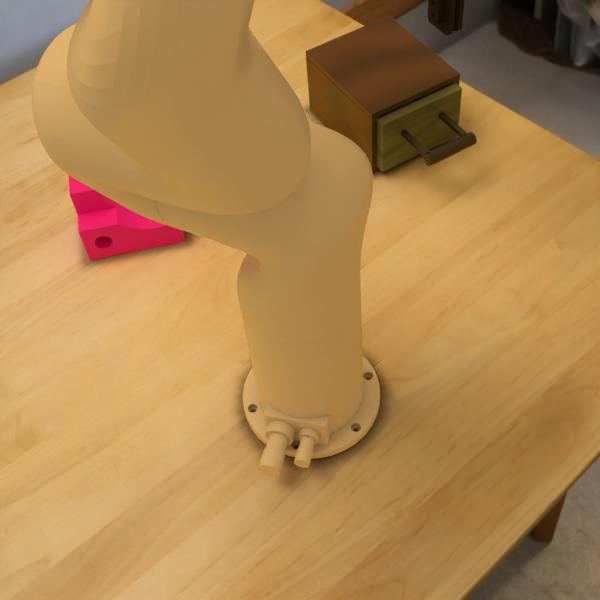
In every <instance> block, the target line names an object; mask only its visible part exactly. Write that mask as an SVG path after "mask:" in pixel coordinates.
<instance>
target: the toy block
mask: <svg viewBox="0 0 600 600" xmlns="http://www.w3.org/2000/svg"><path fill="white" fill-rule="evenodd" d="M68 192H69V198H70V199H71V202H72V205H73V207H74V210H75V212H76V214H77V229H78V231H77V232H78V234H79V236H80V239H81V242H82V244H83V247H84V249H85V251H86V254H87V257H88V259H89V261H93V260H98V259H99V260H100V259H104V258H109V257H114V256H119V255H124V254H129V253H134V252H139V251H144V250H149V249H154V248H159V247H164V246H169V245H174V244H180V243H184V242H186V237H185V231H183V230H180V229H177V228H174V227H171V226H168V225H165V224H162V223H159V222H156V221H154V220H151V219H148V218H146V217H144V216H142V215H140V214H138V213H135V212H133V211H131V210H130V209H128V208H126V207H124V206H122V205H120V204H119V203H117V202H115V201H113V200H111V199H110V198H108V197H106V196H104V195H102V194H101V193H99V192H97V191H95V190H94V189H92V188H90V187H88V186H87V185H85V184H83V183H81V182H80V181H78V180H76V179H75V178H73V177H71V176H70V175H68Z"/></svg>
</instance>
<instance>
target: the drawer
mask: <svg viewBox="0 0 600 600" xmlns="http://www.w3.org/2000/svg"><path fill="white" fill-rule="evenodd" d="M462 93H463V87H461V86H460V84H459V85H458V84H456V83H454V84H452V85H450V86H447V87H445V88H443V89H442V88H440V89H438V90H436V91H434V92H431V93H429V94H427V95H425V96H423V97H421V98H418V99H416V100H414V101H412V102H410V103H408V104H405V105H403V106H401V107H399V108H397V109H395V110H392V111H390V112H388V113H386V114H384V115H382V116H379V117H377V118H378V119H377V167H378V168H379V169H380V170H379V171H380V172H382V173H383V172H386V171H387V170H389V169H392V168H394V167H396V166H398V165H400V164H402V163H404V162H407V161H408V160H410V159H413V158H415V157H417V156H419V155H421V156H422V157H423V162H424V163H425V165H426V166H428V167H431V166H433V165H436V164H438V163H440V162H442V161H443V160H445V159H448V158H450V157H452V156H454V155H456V154H459V153H460V152H462V151H464V150H466V149H468V148H470V147H473V146H474V145H476V144H477V141H478V139H477V136H476V134H475V133H474V132H473V131H469V132H467V131H466V130H464V128H462V127H461V126H460V124H459V123H460V115H461V105H462V104H461V103H462ZM458 136H459V137H458ZM456 137H457V138H456ZM452 139H453V140H452ZM437 146H438V147H437ZM435 147H436V148H435ZM433 148H434V149H433ZM431 149H432V150H431Z"/></svg>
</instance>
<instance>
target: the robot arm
mask: <svg viewBox="0 0 600 600" xmlns="http://www.w3.org/2000/svg"><path fill="white" fill-rule="evenodd" d="M254 5H255V0H89V1H88V3H87V4H86V6H85V7H84V9H83V10H82V12H81V14H80V16H79V17H78V20H77V22H75V23H73V24H71V25H70V26H68V27H67V28H65V29H64V30H63V31H61V32H60V33H59V34H58V35H57V36H55V38H54V39H53V40H52V41H51V42H50V43H49V45H48V46H47V47H46V49H45V50H44V52H43V53H42V55H41V58H40V60H39V62H38V64H37V67H36V70H35V73H34V77H33V82H32V89H31V109H32V117H33V121H34V126H35V130H36V133H37V137H38V138H39V141H40V143H41V145H42V147H43V149H44V150H45V152H46V153H47V155H48V157H49V158H50V159H51V161H52V162H53V163H54V164H55V165H56V166H57V167H58V168H59V169H60V170H61V171H63V172H64V173H65V174H67V175H68V176H69V175H70V176H71V177H73V178H75V179H76V180H78V181H80V182H81V183H83V184H85V185H87V186H88V187H90V188H92V189H94V190H95V191H97V192H99V193H101V194H102V195H104V196H106V197H108V198H110V199H111V200H113V201H115V202H117V203H119V204H120V205H122V206H124V207H126V208H128V209H130V210H131V211H133V212H135V213H138V214H140V215H142V216H144V217H146V218H148V219H151V220H154V221H156V222H159V223H162V224H165V225H168V226H171V227H174V228H177V229H180V230H183V231H184V232H186V233H190V234H192V235H195V236H198V237H202V238H205V239H208V240H211V241H214V242H217V243H219V244H221V245H222V246H226V247H230V248H232V249H235V250H238V251H240V252H243V253H246V255H245V256H244V258H243V260H242V262H241V264H240V267H239V269H238V272H237V278H236V293H237V301H238V304H239V305H238V306H239V309H240V313H241V317H242V322H243V326H244V332H245V337H246V338H245V339H246V343H247V347H248V352H249V357H250V361H251V366H252V367H251V369H250V370H249V372H248V374H247V376H246V379H245V381H244V384H243V389H242V406H243V412H244V415H245V419H246V421H247V423H248V425H249V427H250V429H251V431H252V432H253V433H254V434H255V436H256V437H257V438H258V439H259V440H260V441H261V442H262V443H263V444H265V447H264V448H263V451H262V454H261V457H260V461H259V464H258V467H257V469H258V471H259V472H260V473H262V474H264V475H265V476H269V477H278V476H280V474H281V472H282V468H283V465H284V462H285V458H286V456H288V457H291V458H294V460H293V464H294V465H295V466H296V467H299V468H301V469H308V468H309V467H310V465H311V461H312V460H313V459H322V458H327V457H332V456H334V455H337V454H340V453H343V452H345V451H347V450H348V449H350V448H352V447H353V446H354V445H356V444H357V443H358V442H360V441H361V440H362V439H363V438H364V437H365V436H366V435H367V433H368V432H369V431H370V430H371V428H372V427H373V425H374V423H375V421H376V419H377V417H378V415H379V409H380V406H381V405H380V404H381V387H380V381H379V378H378V375H377V373H376V370H375V369H374V367H373V365H372V364H371V362H370V361H369V360H368V359H367V357H365V355H364V354H363V331H362V330H363V329H362V328H363V326H362V291H361V289H362V288H361V261H362V251H363V250H362V249H363V243H364V236H365V232H366V227H367V222H368V217H369V213H370V208H371V204H372V199H373V193H374V173H373V172H372V168H371V164H370V162H369V159H368V157H367V156H366V154H365V153H364V151H363V150H362V149H361V148H360V147H359V146H358V145H357V144H356V143H354V142H353V141H352V140H350V139H349V138H347V137H345V136H344V135H342V134H340V133H338V132H336V131H334V130H331V129H329V128H327V127H326V126H325V125H321V124H319V123H318V124H317V123H315V122H311V121H309V119H308V117H307V114H306V112H305V110H304V107H303V105H302V103H301V100H300V99H299V97H298V95H297V93H296V92H295V91H294V89H293V88H292V86H291V84H290V83H289V82H288V80H287V79H286V77H285V76H284V74H283V73H282V72H281V70H280V69H279V67H278V66H277V65H276V64H275V62H274V61H273V59H272V58H271V56H270V55H269V54H268V52H267V50H265V48H264V47H263V46H262V44H261V43H260V42H259V40H258V38H256V36H255V35H254V33H253V32H252V30H251V28H250V22H251V17H252V13H253V9H254ZM464 10H465V0H428V1H427V20H428V22H429V23H430V24H431V25H432V26H433V27H435V28H436V29H437V30H439V31H440V32H441V33H442V34H444V36H449V35H452V34H453V32H458V31H461V30H462V29H463V21H464V13H465V12H464Z"/></svg>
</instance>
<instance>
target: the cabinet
mask: <svg viewBox="0 0 600 600" xmlns="http://www.w3.org/2000/svg"><path fill="white" fill-rule="evenodd" d="M305 65H306V76H307V77H306V78H307V89H308V101H309V111H310V112H311V113H312V114H313V115H314V116H315V117H316V118H317V119H318V120H319V121H320V122H321V123H322V124H323V126H324V127H326V128H329V129H331V130H334V131H336V132H338V133H340V134H342V135H344V136H345V137H347V138H349V139H350V140H352V141H353V142H354V143H356V144H357V145H358V146H359V147H360V148H361V149H362V150H363V151H364V153H365V154H366V156H367V157H368V159H369V162H370V164H371V168H372V172H373V174H374V173H375V174H376V173H377V172H379V171H381V170H380V169H379V168H378V167H377V119H378V118H377V117H379V116H382V115H384V114H386V113H388V112H390V111H392V110H395V109H397V108H399V107H401V106H403V105H405V104H408V103H410V102H412V101H414V100H416V99H418V98H421V97H423V96H425V95H427V94H429V93H431V92H434V91H436V90H438V89H440V88H442V89H443V88H445V87H447V86H450V85H452V84H454V83H456V84H458V85H459V86H460V79H461V73H460V72H459V71H458V70H456V69H455V68H454V67H453V66H452V65H450V64H449V63H448V62H447V61H445V59H444V58H442V57H441V56H440V55H438V54H437V53H435V51H434V50H432V49H431V48H430V47H428V46H427V45H426V44H425V43H424V42H422V41H421V40H420V39H419V38H418V37H416V36H415V35H414V34H413V33H411V32H410V31H409V30H408V29H407V28H406V27H404V26H403V25H402V24H400V23H399V22H398V21H397V20H396V19H394V17H392V16H391V15H387V16H385V17H383V18H380V19H378V20H375V21H372V22H371V23H368V24H366V25H363V26H361V27H359V28H356V29H354V30H352V31H350V32H347V33H344V34H343V35H340V36H338V37H335V38H333V39H331V40H328V41H326V42H323V43H321V44H319V45H316V46H314V47H312V48H309V49H307V50H305Z"/></svg>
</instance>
